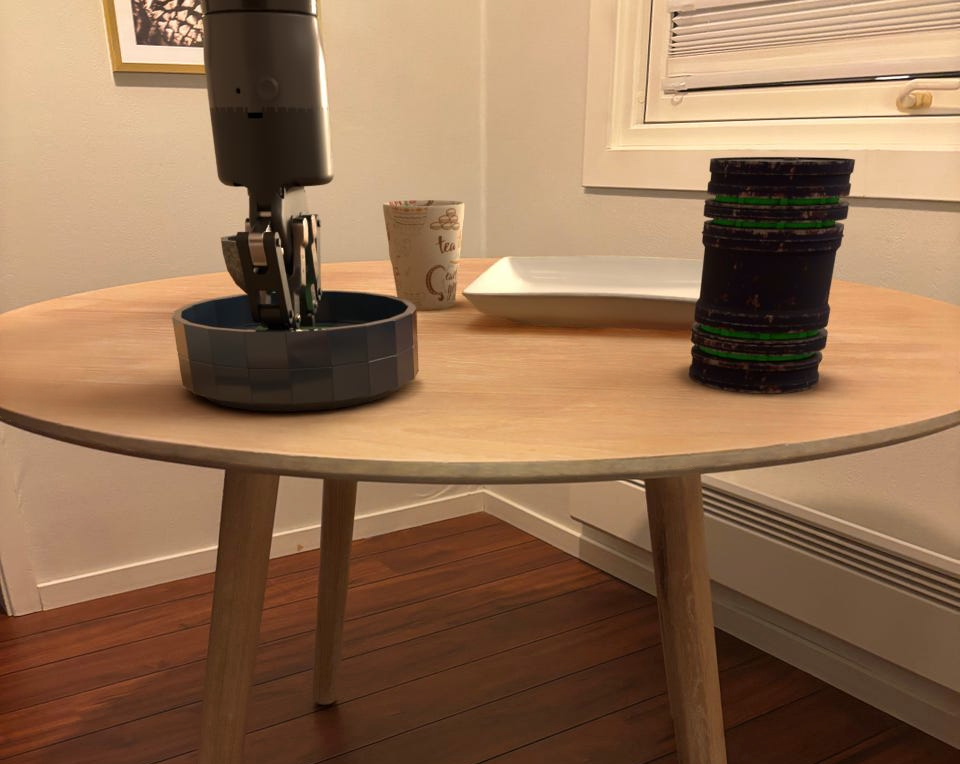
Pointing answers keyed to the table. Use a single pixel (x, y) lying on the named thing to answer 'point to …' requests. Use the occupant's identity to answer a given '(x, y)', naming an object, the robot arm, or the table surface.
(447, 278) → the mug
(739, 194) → the storage jar
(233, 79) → the robot arm
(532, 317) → the square plate
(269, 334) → the bowl
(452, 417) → the table surface
